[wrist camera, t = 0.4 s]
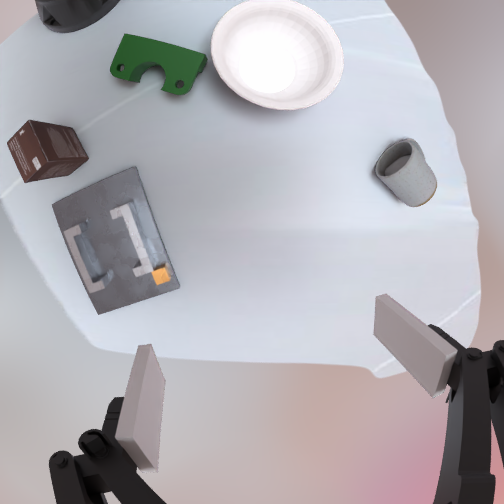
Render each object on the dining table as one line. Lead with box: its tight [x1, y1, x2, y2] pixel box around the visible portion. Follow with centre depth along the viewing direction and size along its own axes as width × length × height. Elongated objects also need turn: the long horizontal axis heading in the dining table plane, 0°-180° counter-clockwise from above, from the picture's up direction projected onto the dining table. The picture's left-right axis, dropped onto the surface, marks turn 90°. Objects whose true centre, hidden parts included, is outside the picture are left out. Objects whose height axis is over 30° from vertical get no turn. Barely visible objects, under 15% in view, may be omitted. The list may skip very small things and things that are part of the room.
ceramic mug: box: [375, 139, 437, 207], centre depth 39 cm, size 11×8×8 cm
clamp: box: [110, 34, 208, 95], centre depth 31 cm, size 12×6×9 cm, turn 61°
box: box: [7, 120, 88, 183], centre depth 28 cm, size 6×4×12 cm
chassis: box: [52, 166, 180, 315], centre depth 37 cm, size 18×14×4 cm
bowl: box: [211, 0, 344, 110], centre depth 31 cm, size 16×16×8 cm
